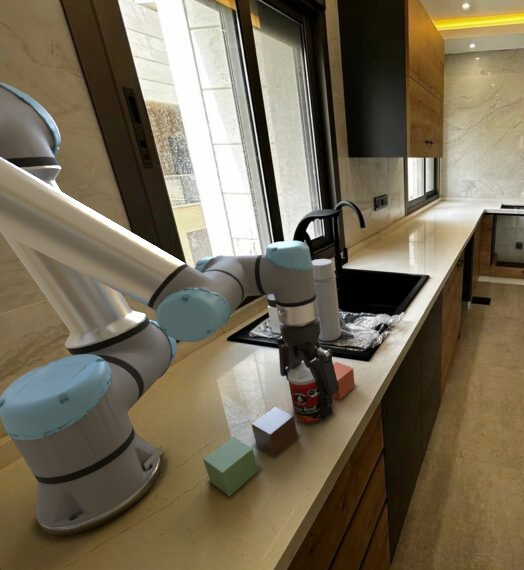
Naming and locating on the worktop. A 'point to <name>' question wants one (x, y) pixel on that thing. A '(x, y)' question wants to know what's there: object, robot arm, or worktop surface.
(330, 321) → the water bottle
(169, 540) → the worktop surface
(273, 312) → the jar
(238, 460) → the block sage
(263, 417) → the block walnut
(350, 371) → the block terracotta
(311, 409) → the canned food
